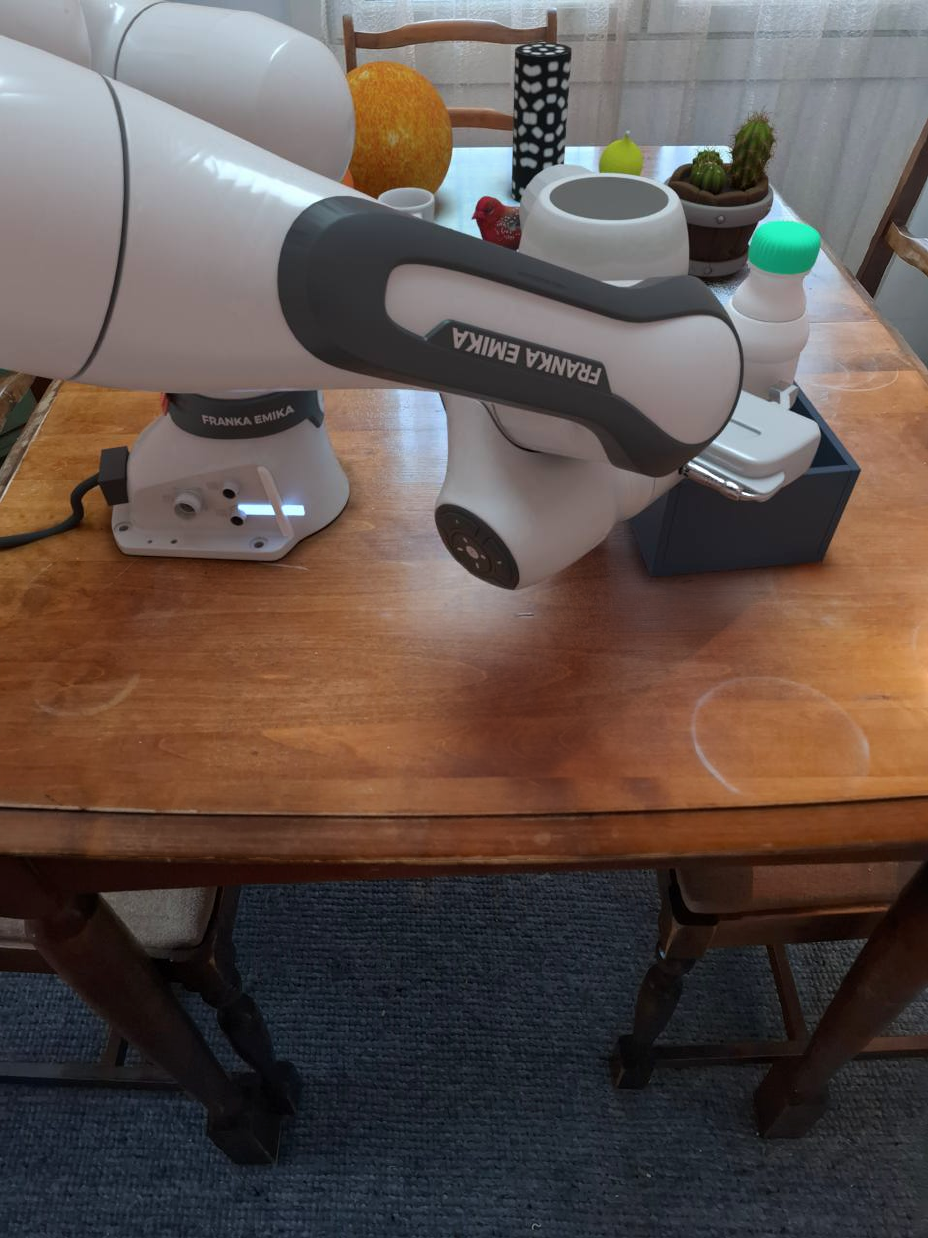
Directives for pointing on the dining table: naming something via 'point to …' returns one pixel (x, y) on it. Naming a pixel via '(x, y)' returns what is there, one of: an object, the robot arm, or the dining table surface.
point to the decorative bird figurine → (498, 222)
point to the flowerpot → (726, 200)
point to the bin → (750, 517)
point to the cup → (411, 202)
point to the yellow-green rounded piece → (621, 158)
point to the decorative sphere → (397, 130)
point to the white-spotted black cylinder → (539, 110)
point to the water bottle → (774, 304)
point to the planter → (609, 227)
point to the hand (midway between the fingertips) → (734, 369)
